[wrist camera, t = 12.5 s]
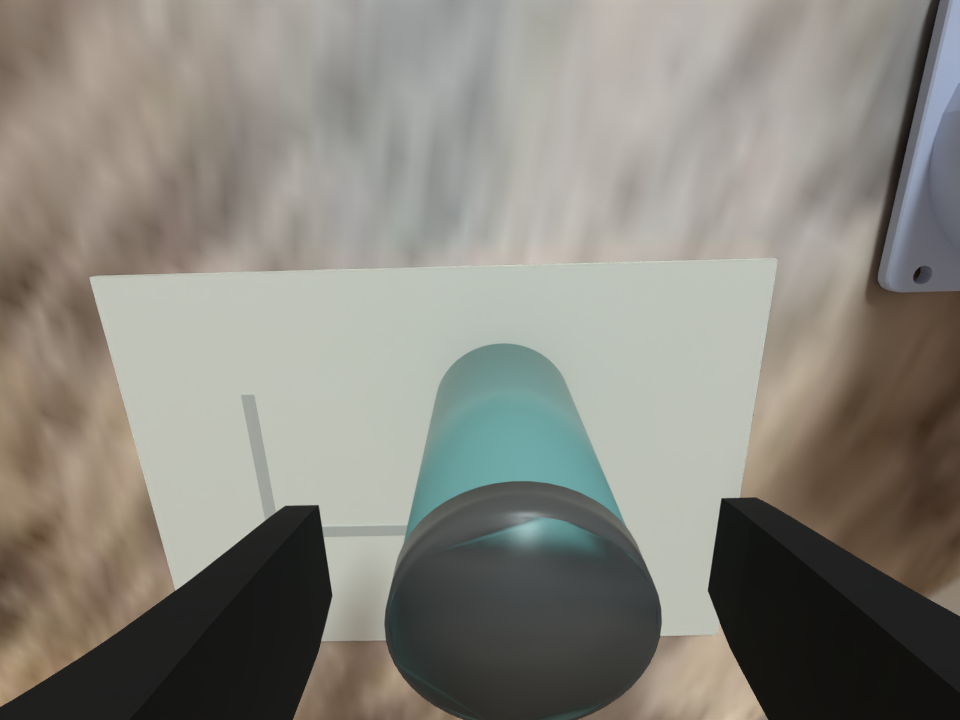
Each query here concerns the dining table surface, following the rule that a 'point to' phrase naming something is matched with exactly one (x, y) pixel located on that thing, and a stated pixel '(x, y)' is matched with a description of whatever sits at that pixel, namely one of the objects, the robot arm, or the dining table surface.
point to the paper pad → (432, 401)
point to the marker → (517, 555)
